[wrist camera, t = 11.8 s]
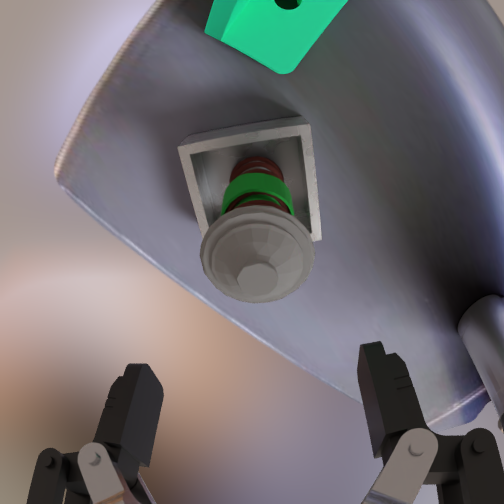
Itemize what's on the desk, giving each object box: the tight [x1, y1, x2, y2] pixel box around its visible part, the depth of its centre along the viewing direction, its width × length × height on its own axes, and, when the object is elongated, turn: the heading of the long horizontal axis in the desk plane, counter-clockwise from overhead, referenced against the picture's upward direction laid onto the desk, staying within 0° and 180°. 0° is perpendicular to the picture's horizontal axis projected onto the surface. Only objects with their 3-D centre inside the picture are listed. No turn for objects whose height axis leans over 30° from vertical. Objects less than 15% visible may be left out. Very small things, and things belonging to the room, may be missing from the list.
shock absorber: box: [200, 156, 315, 303], centre depth 22 cm, size 6×6×15 cm
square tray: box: [177, 116, 322, 241], centre depth 27 cm, size 10×10×4 cm
